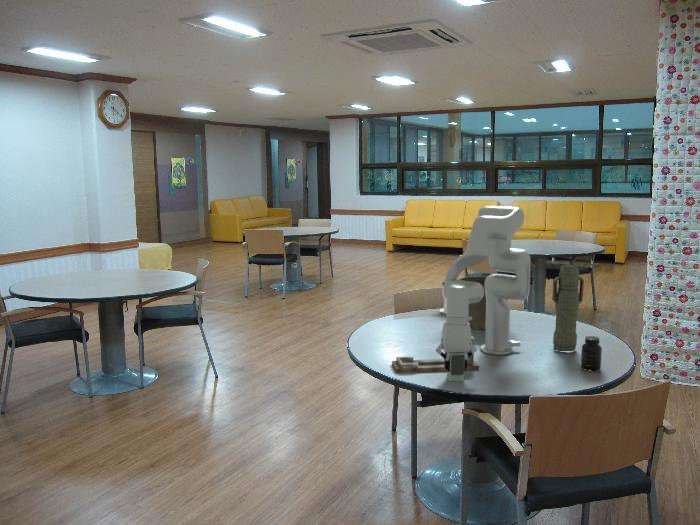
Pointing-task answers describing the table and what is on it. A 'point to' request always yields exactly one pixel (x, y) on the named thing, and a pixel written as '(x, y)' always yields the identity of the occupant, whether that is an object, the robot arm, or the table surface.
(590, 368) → the supplement bottle
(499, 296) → the robot arm
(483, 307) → the plant pot
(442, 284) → the white rounded piece
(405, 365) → the rail
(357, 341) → the table surface
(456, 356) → the pale green block
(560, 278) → the thermos
